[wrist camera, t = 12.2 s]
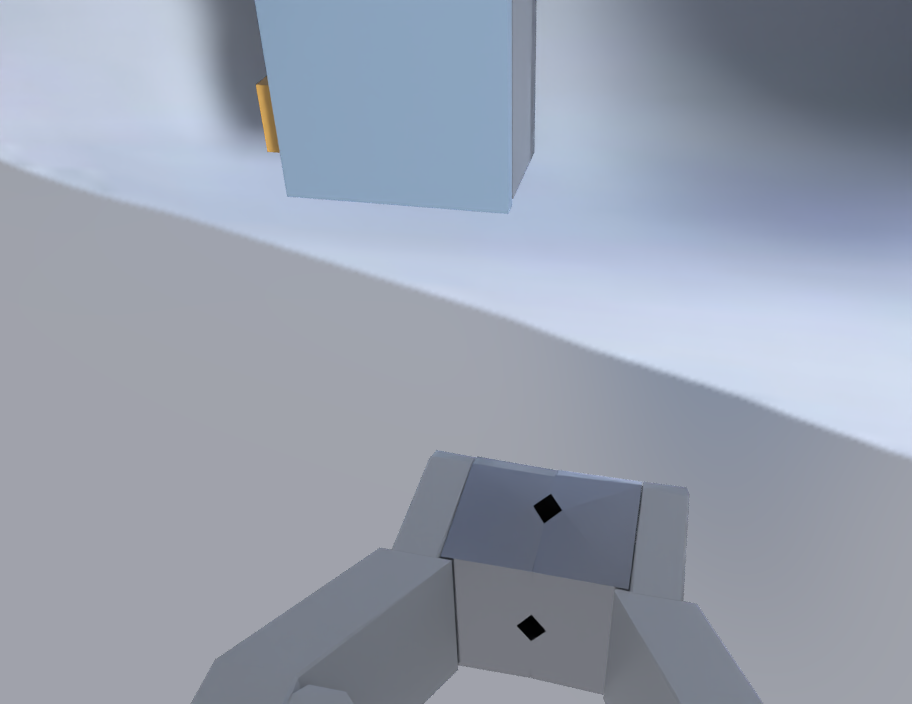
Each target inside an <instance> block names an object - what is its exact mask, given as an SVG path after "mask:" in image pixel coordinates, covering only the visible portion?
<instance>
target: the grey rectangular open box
mask: <svg viewBox="0 0 912 704" xmlns="http://www.w3.org/2000/svg"><path fill="white" fill-rule="evenodd" d="M535 60H536V0H512V199H513V198H514V196H515V193H516V191H517V189H518V187H519V185H520V183H521V180H522V178H523V176H524V174H525V172H526V169H527V167H528V165H529V163H530V161H531V158H532V156H533V154H534V130H535Z"/></svg>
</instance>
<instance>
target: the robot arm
mask: <svg viewBox="0 0 912 704" xmlns="http://www.w3.org/2000/svg"><path fill="white" fill-rule="evenodd" d="M641 489H642V492H641ZM640 499H641V501H640ZM639 507H640V509H639ZM688 512H689V492H688V489H687V488H686V487H679V486H672V485H665V484H658V483H650V482H644V483H643V486H642V482H641V481H634V480H627V479H620V478H612V477H605V476H597V475H591V474H583V473H576V472H569V471H562V470H553V469H547V468H541V467H535V466H529V465H524V464H518V463H512V462H506V461H500V460H495V459H489V458H483V457H471V456H466V455H460V454H455V453H449V452H444V451H438V450H437V451H436V452H435V453H434V454H433V455H432V456H431V457H430V459H429V460H428V463H427V465H426V468H425V470H424V472H423V475H422V477H421V480H420V483H419V485H418V487H417V489H416V492H415V495H414V497H413V500H412V502H411V504H410V506H409V509H408V511H407V514H406V516H405V519H404V521H403V524H402V526H401V528H400V531H399V533H398V536H397V538H396V540H395V543H394V545H393V548H392V549H385V548H379V549H377V550H376V551H375V552H373V553H371V554H370V555H368V556H367V557H365V558H364V559H363V560H361V561H360V562H358V563H357V564H355V565H354V566H352V567H351V568H349V569H348V570H346V571H345V572H343V573H342V574H340V575H339V576H338V577H336V578H335V579H333V580H332V581H330V582H329V583H327V584H326V585H324V586H323V587H321V588H320V589H319V590H317V591H316V592H314V593H312V594H311V595H310V596H308V597H307V598H305V599H304V600H302V601H301V602H299V603H298V604H296V605H295V606H293V607H292V608H290V609H289V610H287V611H286V612H285V613H283V614H282V615H280V616H279V617H277V618H276V619H274V620H273V621H272V622H270V623H268V624H267V625H265V626H264V627H263V628H261V629H260V630H258V631H257V632H255V633H254V634H252V635H251V636H249V637H248V638H246V639H245V640H243V641H242V642H240V643H239V644H237V645H236V646H235V647H233V648H232V649H230V650H229V651H227V652H226V653H225V654H223V655H221V656H220V657H218V658H217V659H215V661H214V663H213V664H212V666H211V668H210V670H209V672H208V673H207V675H206V677H205V679H204V681H203V683H202V684H201V686H200V688H199V690H198V691H197V693H196V695H195V697H194V699H193V700H192V702H191V704H424V703H425V702H426V701H427V700H428V699H429V698H430V697H431V696H432V695H433V694H434V693H435V692H436V691H437V690H438V689H439V688H440V687H441V686H442V685H443V684H444V683H445V682H446V681H447V680H448V679H449V678H450V677H451V676H452V675H453V674H454V673H455V672H456V671H457V670H458V665H460V666H466V667H472V668H477V669H483V670H489V671H494V672H500V673H506V674H512V675H517V676H523V677H529V678H530V677H531V678H533V679H537V680H542V681H546V682H551V683H555V684H559V685H563V686H568V687H572V688H576V689H581V690H585V691H589V692H594V693H598V694H602V695H604V697H603V698H604V701H605V703H606V704H763V702H762V701H761V699H760V698H759V696H758V694H757V693H756V691H755V690H754V688H753V687H752V685H751V684H750V682H749V681H748V680H747V678H746V677H745V675H744V674H743V672H742V670H741V669H740V668H739V666H738V665H737V663H736V661H735V660H734V659H733V657H732V655H731V654H730V652H729V651H728V650H727V648H726V646H725V645H724V643H723V642H722V640H721V639H720V637H719V636H718V634H717V633H716V631H715V630H714V629H713V627H712V626H711V624H710V622H709V621H708V619H707V618H706V616H705V615H704V613H703V612H702V611H701V609H700V608H699V606H698V604H695V603H691V602H686V601H683V596H684V580H685V563H686V546H687V528H688ZM638 516H639V517H638ZM637 524H638V526H637ZM636 532H637V534H636ZM635 540H636V542H635Z"/></svg>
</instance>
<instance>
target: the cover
mask: <svg viewBox="0 0 912 704" xmlns="http://www.w3.org/2000/svg"><path fill="white" fill-rule="evenodd" d="M255 6H256V12H257V18H258V24H259V30H260V36H261V42H262V48H263V54H264V60H265V66H266V72H267V76H266V77H265V78H264V79H262V80H261V81H260V82H259V83H257V84H256V89H257V95H258V100H259V106H260V112H261V117H262V123H263V129H264V135H265V140H266V146H267V152H278V153H280V156H281V162H282V168H283V174H284V180H285V186H286V192H287V197H300V198H313V199H326V200H338V201H351V202H364V203H376V204H389V205H402V206H415V207H427V208H440V209H453V210H466V211H478V212H491V213H504V214H509V211H510V209H511V207H512V0H255Z"/></svg>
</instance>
